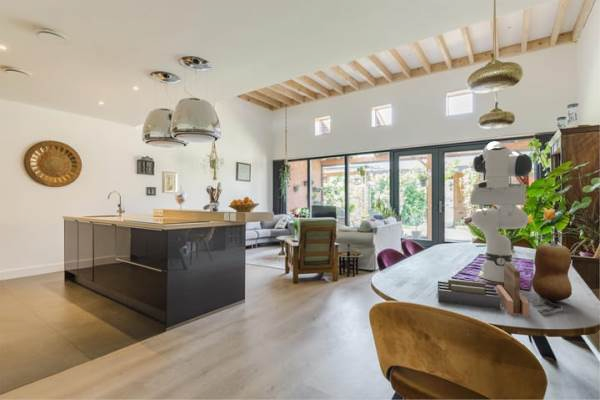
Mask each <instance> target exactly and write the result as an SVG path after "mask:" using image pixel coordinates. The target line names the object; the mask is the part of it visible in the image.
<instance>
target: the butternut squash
mask: <svg viewBox="0 0 600 400" xmlns="http://www.w3.org/2000/svg"><path fill="white" fill-rule="evenodd" d="M534 255H535V256H534V261H533V262H534V268H535V269H534V275H533V276H532V279H531V285H532V288H533V291H534V292H535V294H537V296H539V298H541V300H543V299H546V300H548V301H550V302H551V303H553V302H554V303H555V302H556V303H557V302H562V301H565V300H568V299H569V298H571V296H572V295H573V294H572V291H573V289H572V283H571V281H570V278H569V271H570V266H571V263H572V255H571V251H570V249H569V248H568V247H567V246H564V245H561V244H554V243H551V242H550V243H549V242H544V243H540V244H539V245H538V246H537V247H536V251H535V254H534Z"/></svg>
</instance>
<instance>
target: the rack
mask: <svg viewBox="0 0 600 400" xmlns="http://www.w3.org/2000/svg"><path fill="white" fill-rule="evenodd" d="M437 297H438V300H437V301H438V303H442V304H443V303H444V304H451V305H459V306H467V307H474V308H482V309H490V310H497V311H501V307H502V304H501V297H500V296H498V293H497V289H495V287H494V286H491V285H486V291H485V294H478V293H469V292H461V291H452V290H451V287H448V281H444V280H437Z"/></svg>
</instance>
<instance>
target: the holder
mask: <svg viewBox="0 0 600 400" xmlns="http://www.w3.org/2000/svg"><path fill="white" fill-rule="evenodd" d="M496 292H497V293H498V296H500V297H501V307H503V309H504V310H505V312H506V314H508V315H515V316H523V317H530V302H528V301H529V300H527V299H526V297H524V296H523V295H522V293H521V292H520V314H518V313H514V312H513V300H512V299H511V297H510V296H509V295H508V293H507V292H506V291H505V289H504V286H503V285H500V284H496Z"/></svg>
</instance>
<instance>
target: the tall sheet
mask: <svg viewBox="0 0 600 400" xmlns="http://www.w3.org/2000/svg"><path fill="white" fill-rule="evenodd" d="M520 275H521V272H520V270H519V269H517V267H516V266H515V267H514V266H513V265H512V264H510V263H509V262H504V282H503V288H504V289H505V291H506V292H507V293H508V295H509V296H510V297H511V299H512V300H513V312H514V313H518V314H520V293H521V290H520V289H521V283H520V282H521V276H520Z"/></svg>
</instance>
